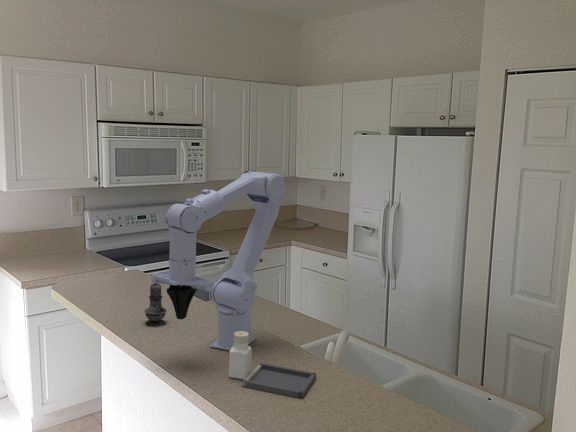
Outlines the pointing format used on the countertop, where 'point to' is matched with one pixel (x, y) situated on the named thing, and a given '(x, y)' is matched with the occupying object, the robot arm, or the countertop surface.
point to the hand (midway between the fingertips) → (181, 317)
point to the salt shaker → (155, 307)
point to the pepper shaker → (240, 356)
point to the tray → (279, 380)
